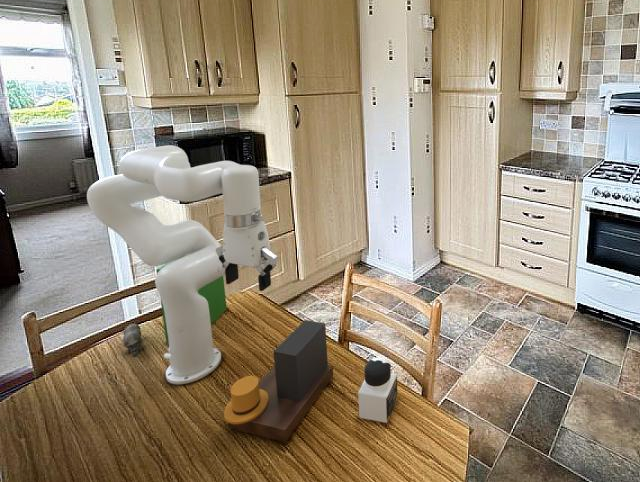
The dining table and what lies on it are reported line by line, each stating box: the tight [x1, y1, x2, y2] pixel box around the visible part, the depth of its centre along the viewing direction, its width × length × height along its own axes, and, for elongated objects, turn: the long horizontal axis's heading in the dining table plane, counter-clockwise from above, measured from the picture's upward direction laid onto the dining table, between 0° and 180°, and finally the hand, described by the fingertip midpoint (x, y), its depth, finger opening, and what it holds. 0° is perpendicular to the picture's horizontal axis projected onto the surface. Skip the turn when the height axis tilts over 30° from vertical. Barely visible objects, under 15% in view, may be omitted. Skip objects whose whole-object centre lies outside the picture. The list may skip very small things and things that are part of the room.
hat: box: [223, 375, 269, 424], centre depth 85 cm, size 9×9×6 cm
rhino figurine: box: [122, 323, 143, 358], centre depth 108 cm, size 4×14×6 cm, turn 42°
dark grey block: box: [273, 319, 329, 401], centre depth 92 cm, size 6×12×12 cm, turn 166°
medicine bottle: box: [357, 356, 399, 424], centre depth 89 cm, size 7×7×12 cm
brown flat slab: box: [227, 364, 334, 444], centre depth 91 cm, size 15×19×4 cm
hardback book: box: [156, 254, 228, 345], centre depth 118 cm, size 18×7×24 cm, turn 179°
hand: (248, 284), depth 90 cm, fingers open, 9 cm apart
